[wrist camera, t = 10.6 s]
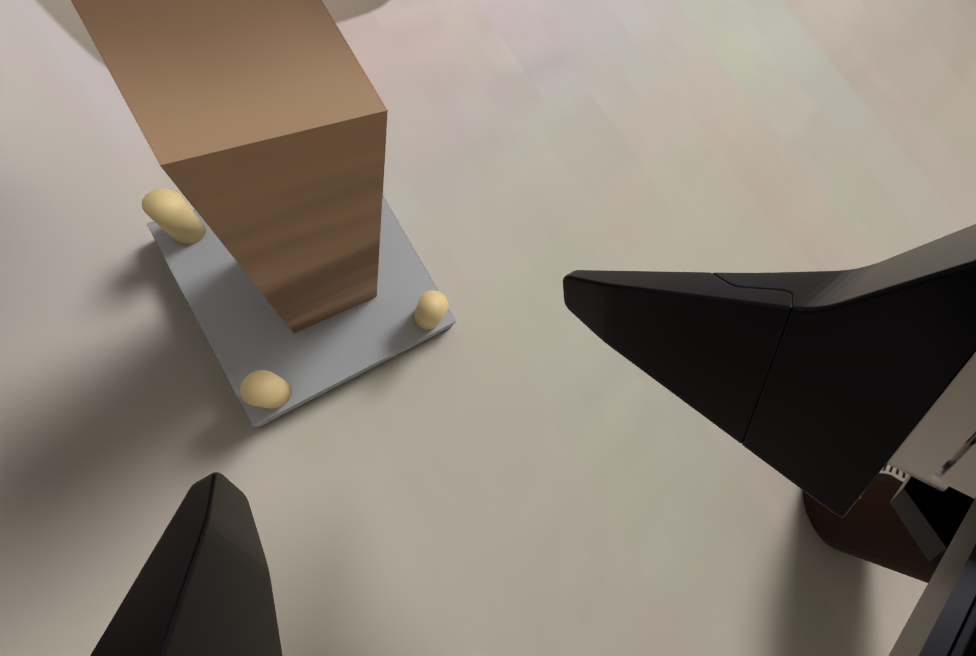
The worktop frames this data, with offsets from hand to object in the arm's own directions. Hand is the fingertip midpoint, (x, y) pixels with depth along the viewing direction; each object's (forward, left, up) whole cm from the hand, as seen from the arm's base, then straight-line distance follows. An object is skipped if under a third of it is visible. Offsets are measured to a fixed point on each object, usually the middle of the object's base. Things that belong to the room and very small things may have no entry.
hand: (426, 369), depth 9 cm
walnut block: (+3, +7, -10) cm, 12 cm away
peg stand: (+3, +7, -11) cm, 13 cm away
